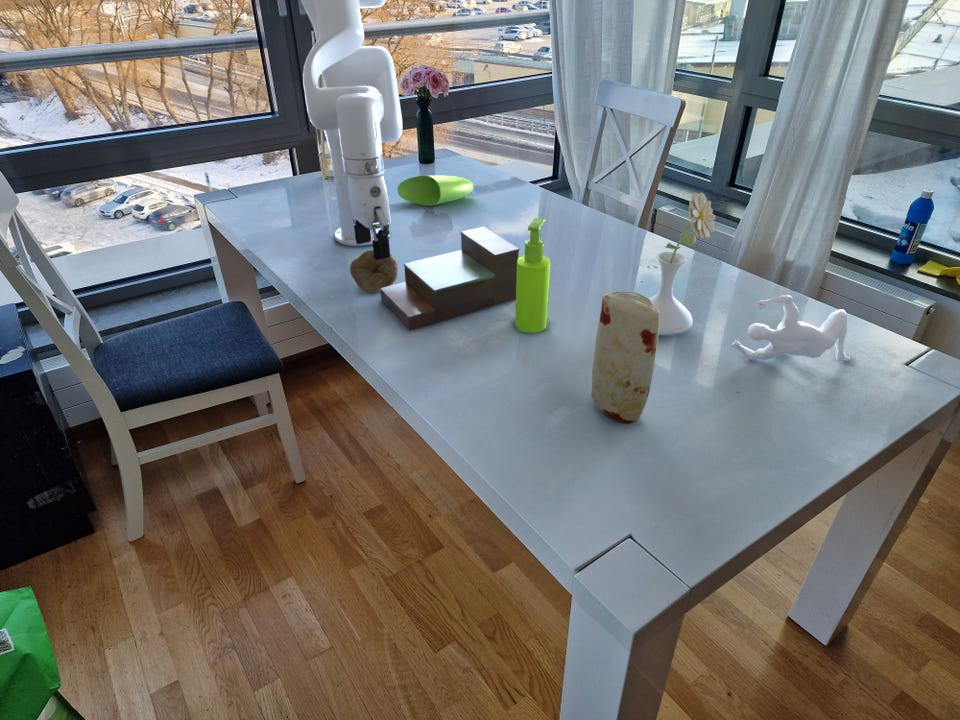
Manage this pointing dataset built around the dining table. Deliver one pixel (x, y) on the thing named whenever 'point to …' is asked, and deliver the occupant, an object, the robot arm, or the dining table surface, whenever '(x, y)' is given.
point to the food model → (624, 355)
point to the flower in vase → (671, 310)
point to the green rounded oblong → (434, 189)
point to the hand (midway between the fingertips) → (372, 250)
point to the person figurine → (797, 334)
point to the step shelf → (455, 281)
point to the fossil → (373, 272)
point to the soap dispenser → (532, 283)
